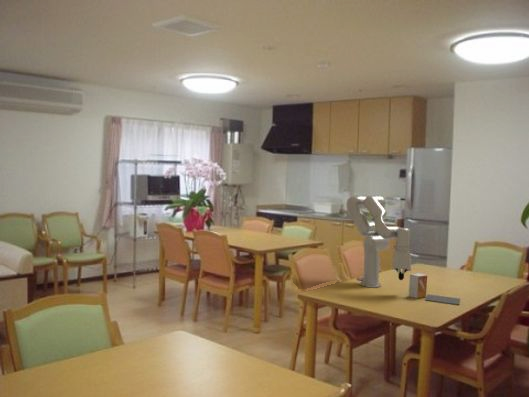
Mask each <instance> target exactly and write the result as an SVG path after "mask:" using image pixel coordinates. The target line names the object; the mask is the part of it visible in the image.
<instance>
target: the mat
mask: <svg viewBox="0 0 529 397" xmlns="http://www.w3.org/2000/svg"><path fill="white" fill-rule="evenodd" d="M424 301H426V302H433V303H440V304H446V305H447V304H448V305H452V306H453V305H454V306H460V302H461V298H459V297H450V296H444V295H443V296H442V295H434V294H429V293H426V297H425V298H424Z"/></svg>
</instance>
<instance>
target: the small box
mask: <svg viewBox="0 0 529 397" xmlns="http://www.w3.org/2000/svg"><path fill="white" fill-rule="evenodd" d="M427 283H428V275H427V274H425V273H420V272H419V273H410V274H409V283H408V284H409V285H408V287H409V288H408V297H410V298H414V299H421V298H426V296H427V287H428V286H427Z"/></svg>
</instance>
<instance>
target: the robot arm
mask: <svg viewBox="0 0 529 397" xmlns="http://www.w3.org/2000/svg"><path fill="white" fill-rule="evenodd" d="M385 206H386V200H385V198H384V197H383V196H380V195H352V196H350V197H349V198H348V199H347V200H346V210H347V213H348V215H349V216H350V217H351V219H352V221H353V223H354V225H355V226H356V229H357V230H358V232H359V234H360V235H361V236H362V237H365V238H364V239H363V242H362V243H363V252H364V254H363V255H364V256H363V257H364V258H363V277H362V276H361V277H357V276H356V281H358V282H360V286H363V287H366V288H367V287H368V288H380V287H381V286H382V284H381V283H380V281H379V278H380V260H381V258H380V254H379V252H378V251H384V250H387V249H389V248H390V240H395V242H396V243H395V245H393V249H395V250H394V251H393V256H392V267H391V269H392V270H395V271H396V273H397V274H398V277H397V278H398V279H399V281H403V280H404V279H405V274H406V273H407V272H410V271H412V267H411V266H412V254H411V251H410V240H411V230H410V228H407V227H400V226H397V225H396V226H395V225H393V226H392V225H391V226H387V225H386V224H385V222H384V220H383V219H384V218H385V217H386V216H387V211H386V209H385V208H384V207H385ZM361 209H367V212H369V213H370V215H371V216H372V217H373V219H374V220H369V219H368V217H367V215H366V214H365V213H364V212H363V211H362V210H361ZM401 270H402V271H401Z"/></svg>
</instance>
